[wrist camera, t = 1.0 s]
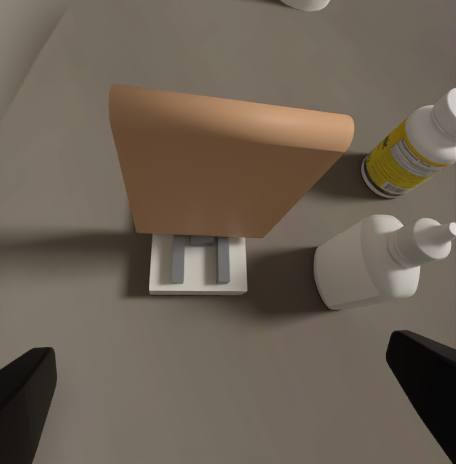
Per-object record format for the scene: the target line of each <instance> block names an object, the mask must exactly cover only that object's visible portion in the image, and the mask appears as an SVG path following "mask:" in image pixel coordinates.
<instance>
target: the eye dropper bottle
mask: <svg viewBox="0 0 456 464" xmlns="http://www.w3.org/2000/svg"><path fill="white" fill-rule="evenodd" d="M454 238H456V223H448V224H443V225H441V224H440V223H438V222H437V221H435V220H433V219H430V218H420V219H418V220H416V221H414V222H412V223H409V224H407V225H405V226H403V225H402V223H401V222H400V221H399V220H397V219H396V218H395V217H393V216H390V215H371V216H368V217H366V218H364V219H362V220H360V221H359V222H357V223H355V224H353V225H352V226H350V227H348V228H347V229H345V230H343V231H342V232H340V233H339V234H337V235H335V236H334V237H332V238H330V239H329V240H327V241H326V242H324V243H322V244H321V245H319V246H318V248H317V249H316V252H315V256H314V278H315V282H316V286H317V289H318V291H319V294H320V296H321V298H322V300H323V302H324V303H325V305H326V306H327V307H328V308H330V309H333V310H340V309H351V308H356V307H362V306H367V305H373V304H378V303H384V302H389V301H394V300H399V299H404V298H407V297H410V296H412V295H413V294H414V293H415V291H416V289H417V286H418V281H419V274H420V266H421V265H425V264H428V263H431V262H435V261H438V260H442V259H444V258H446V257H447V255H448V254H449V252H450V250H451V240H453V239H454Z"/></svg>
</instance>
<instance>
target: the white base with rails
mask: <svg viewBox="0 0 456 464" xmlns="http://www.w3.org/2000/svg"><path fill="white" fill-rule="evenodd" d="M149 292H150V295H242V294H244V293H245V292H247V271H246V250H245V238H243V237H220V236H213V243H212V245H211V246H207V245H190V235H173V234H153V236H152V251H151V267H150V282H149Z"/></svg>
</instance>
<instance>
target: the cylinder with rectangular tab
mask: <svg viewBox="0 0 456 464" xmlns="http://www.w3.org/2000/svg"><path fill="white" fill-rule="evenodd" d="M280 1H281V2H283V3H285V4H286V5H288V6H290V7H293V8H295V9H299V10H303V11H316V10H320V9H322V8H324V7H325V6H326V5H327V4H328V3H329V1H330V0H280Z"/></svg>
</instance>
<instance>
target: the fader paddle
mask: <svg viewBox="0 0 456 464" xmlns="http://www.w3.org/2000/svg"><path fill="white" fill-rule="evenodd" d="M109 117H110V125H111V129H112V133H113V138H114V142H115V146H116V150H117V154H118V158H119V162H120V167H121V171H122V175H123V179H124V183H125V187H126V191H127V195H128V200H129V204H130V208H131V212H132V216H133V220H134V224H135V229H136V233H150V234H173V235H190V245H207V246H211V245H212V243H213V236H220V237H243V238H263V237H264V236H265V235H266V234H267V233H268V232H269V231H270V230H271V229H272V228H273V227H274V226H275V225H276V224H277V223H278V222H279V221H280V220H281V219H282V218H283V217H284V216H285V215H286V213H287V212H288V211H289V210H290V209H291V208H292V207H293V206H294V205H295V204H296V203H297V202H298V201H299V200H300V199H301V198H302V197H303V196H304V195H305V194H306V193H307V192H308V191H309V190H310V188H311V187H312V186H313V185H314V184H315V183H316V182H317V181H318V180H319V179H320V178H321V177H322V176H323V175H324V174H325V173H326V172H327V171H328V170H329V169H330V168H331V167H332V166H333V165H334V163H335V162H336V161H337V160H338V159H339V158H340V157H341V156H342V155H343V154H344V153H345V152H346V151H347V149H348V148H349V146H350V144H351V142H352V139H353V134H354V122H353V119H352V118H351V117H350V116H349V115H342V114H335V113H328V112H320V111H313V110H305V109H298V108H290V107H283V106H275V105H268V104H260V103H253V102H245V101H238V100H230V99H223V98H215V97H208V96H201V95H193V94H186V93H178V92H171V91H163V90H156V89H148V88H141V87H133V86H126V85H118V84H112V85H111V87H110V93H109Z"/></svg>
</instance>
